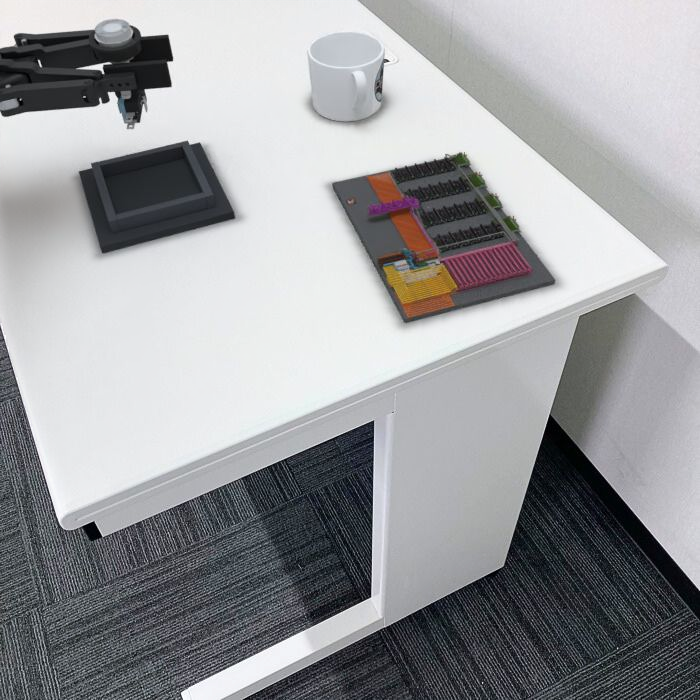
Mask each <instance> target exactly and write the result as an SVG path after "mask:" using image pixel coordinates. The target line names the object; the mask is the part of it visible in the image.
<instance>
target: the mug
mask: <svg viewBox="0 0 700 700" xmlns="http://www.w3.org/2000/svg"><path fill="white" fill-rule="evenodd" d="M385 52H386V49H385V46H384V43H383V42H382V41H381V40H380V39H379V38H377V37H375V36H374V35H371V34H369V33H365V32H360V31H355V30H353V31H352V30H342V31H333V32H330V33H326V34H325V33H324V34H323V35H321V36H318V37H317V38H315V39H314V40H312V41H311V42H310V44H309V45H308V48H307V50H306V53H307V62H308V71H309V80H310V81H309V82H310V88H311V89H310V90H311V100H312V106H313V109H314V110H315V112H316V113H317V114H319V115H320V116H321V117H324V118H326V119H328V120H332V121H335V122H357V121H361V120H365V119H367V118H369V117H372V116H373V115H374V114H376V113H377V112H378V111H379V110H380V108H381V106H382V102H383V85H384V68H385V54H386V53H385Z"/></svg>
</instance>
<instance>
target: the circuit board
mask: <svg viewBox="0 0 700 700" xmlns="http://www.w3.org/2000/svg"><path fill="white" fill-rule="evenodd" d="M331 184H332V189H333V191H334V192H335V195H336V196H337V198H338V200H339V201H340V204H341V206H342V208H343V209H344V212H345V213H346V215H347V217H348V219H349V220H350V223H351V225H352V226H353V228H354V230H355V232H356V234H357V235H358V236H357V237H359V240H360V241H361V243H362V245H363V247H364V249H365V250H366V253H367V255H368V256H369V258H370V261H371V262H372V264H373V265H374V267H375V270H376V272H377V273H378V275H379V277H380V279H381V281H382V282H383V285H384V286H385V288H386V291H387V292H388V295H389V296H390V298H391V300H392V302H393V304H394V305H395V307H396V309H397V312H398V313H399V315H400V317H401V319H402V320H403V322H404V324H407V323H411V322H413V321H414V322H415V321H419V320H421V319H426V318H429V317H434V316H436V315H440V314H444V313H448V312H452V311H455V310H460V309H464V308H468V307H470V306H471V307H472V306H475V305H479V304H483V303H487V302H491V301H494V300H497V299H502V298H505V297H509V296H514V295H517V294H521V293H525V292H529V291H533V290H536V289H540V288H544V287H548V286H551V285H555V284H556V279H555V277H554V276H553V275H552V274H551V272H550V270H549V269H548V268H547V267H546V266H545V264H544V263H543V261H542V260H541V258H540V257H539V256H538V255H537V253H536V252H535V251H534V249H533V248H532V247H531V245H530V244H529V243H528V242H527V241H529V240H526V239H525V238H524V236H523V235H522V234H521V233H522V231H521V230H520V225H519V224H518V222H517V218H515V216H514V215H513V216H512V217H511V215H507V214H506V212H505V211H504V210H503V208H504V207H503V203H502V202H501V200H500V199H499V195H497V193H492V192H491V193H490V192H489V190H488V188H489V186H488V184H486V180H485V179H484V178H483V174H481V171H479V172H477V171H475V172H474V170H473V168H471V161H470V160H469V158H468V154H466V152H465V151H464V152H462V151H460V152H458V153H456V154H452V155H450V154H448V153H445V155H444V158H441V159H436V158H434V159H433V160H431V161H426V160H425V161H424V162H422V163H418V164H417V162H416V163H414V164H412V165H404V166H403V167H398V168H397V167H394V169H389V170H386V171H381V172H380V171H379V172H375V173H371V174H366V175H361V176H357V177H352V178H348V179H343V180H339V181H334V182H331Z"/></svg>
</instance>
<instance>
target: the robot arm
mask: <svg viewBox="0 0 700 700" xmlns="http://www.w3.org/2000/svg"><path fill="white" fill-rule="evenodd" d="M94 31H95V29H84V30H83V29H82V30H72V31H71V30H69V31H59V32H57V31H56V32H47V33H46V32H45V33H27V32H26V33H25V32H17V33H15V34H14V35H13V39H14V42H15V44H14V45H10V46H3V47H1V48H0V115H1V117H4V118H9V117H13V116H17V115H21V114H25V113H34V112H45V111H46V112H47V111H59V110H71V109H84V108H95V107H98V106H99V105H101V104H102V105H105V104H108V103H110V102H111V99H110V95H109V93H115V92H120V91H132V90H154V89H165V88H172V87H173V82H172V77H171V74H170V69H169V64H168V63H171V62H174V56H173V49H172V45H171V40H170V36H169V34H158V35H157V34H156V35H145V36H141V41H140V45H141V51H140V52H139V54H138V55H136V56H134V58H133V59H131V60H129V61H130V63H118V64H111V63H108V62H107V61H102V60H100V59H98V58H97V56H96V53H95V51H94V49H92V48H91V46H90V44H89V36H90V34H91V33H92V32H94ZM101 64H103V66H102V70H100V69H89V68H88V67H92V66H97V65H101ZM85 68H87V69H85ZM100 101H101V102H100Z"/></svg>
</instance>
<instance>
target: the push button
mask: <svg viewBox="0 0 700 700" xmlns="http://www.w3.org/2000/svg"><path fill="white" fill-rule="evenodd" d="M94 30H95V31H94V32H92V33H91V34H90V36H89V44H90V46H91V48H92V49H94V51H95V53H96V56H97V58H98V59H100V60H102V61H107V63H108V64H118V63H130V61H129V60H131V59H133V58H134V56H136V55H138V54H139V52H140V51H141V45H140V41H141V37H142V34H141V31H140V30H139V29H138V28H137V27H136V26H134V25H131V24H130V23H129V22H128V21H126V20H125V19H121V18H109V19H106V20H103V21H100V22H99V23H97V24H96V26H95V27H94ZM145 90H146V89H144V90H132V91H120V92H114V96H115V97H116V98H117V103H116V104H117V109H118V112H119V114H121V116H122V121H123V123H124V124H126V130H134V129H135V127H136V124H140V123H141V119H142V115H143V114H142V113H143V108H144V111H145V113H148V109H149V108H148V104H147V103H148V98H147V93H146V91H145Z"/></svg>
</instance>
